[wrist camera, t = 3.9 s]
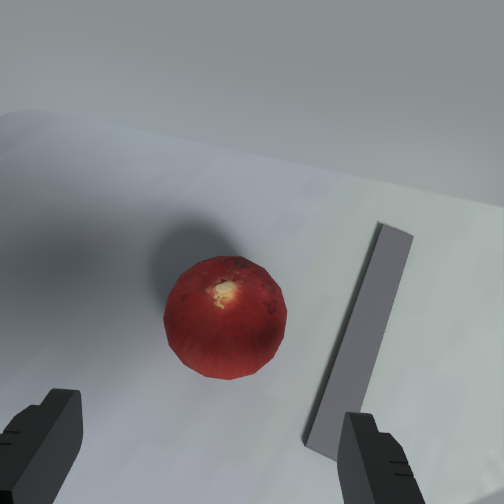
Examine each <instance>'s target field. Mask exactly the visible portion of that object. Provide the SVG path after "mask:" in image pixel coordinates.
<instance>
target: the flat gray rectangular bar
mask: <svg viewBox="0 0 504 504" xmlns="http://www.w3.org/2000/svg"><path fill="white" fill-rule="evenodd" d="M413 237H414V236H412V235H410V234H407V233H405V232H402V231H400V230H397V229H395V228H392V227H389V226H387V225H384V224H383V226H382V227H381V230H380V233H379V236H378V238H377V241H376V244H375V247H374V250H373V253H372V256H371V258H370V261H369V264H368V267H367V270H366V273H365V276H364V278H363V281H362V284H361V287H360V290H359V293H358V296H357V298H356V301H355V304H354V307H353V310H352V313H351V316H350V318H349V321H348V324H347V327H346V330H345V333H344V336H343V338H342V341H341V344H340V347H339V350H338V353H337V356H336V358H335V361H334V364H333V367H332V370H331V373H330V376H329V378H328V381H327V384H326V387H325V390H324V393H323V396H322V398H321V401H320V404H319V407H318V410H317V413H316V416H315V418H314V421H313V424H312V427H311V430H310V433H309V436H308V438H307V441H306V444H305V447H307V448H309V449H311V450H313V451H315V452H317V453H320V454H322V455H324V456H326V457H328V458H330V459H332V460H334V461H336V462H337V454H338V447H339V442H340V436H341V431H342V426H343V420H344V416H345V413H346V412H357V413H360V410H361V407H362V403H363V400H364V397H365V394H366V390H367V387H368V384H369V381H370V377H371V374H372V371H373V368H374V364H375V361H376V358H377V355H378V351H379V348H380V345H381V342H382V338H383V335H384V332H385V329H386V325H387V322H388V319H389V316H390V312H391V309H392V306H393V303H394V299H395V296H396V293H397V290H398V286H399V283H400V280H401V277H402V273H403V270H404V267H405V263H406V260H407V257H408V254H409V250H410V247H411V244H412V241H413Z"/></svg>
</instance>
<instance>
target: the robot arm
mask: <svg viewBox="0 0 504 504" xmlns="http://www.w3.org/2000/svg"><path fill="white" fill-rule="evenodd" d="M82 439H83V419H82V403H81V393H80V391H79V390H69V389H56V388H53V389H52V390H50V392H49V393H48V394H47V396H46V397H45V399H44V400H43V401H42V403H41V404H40V405H30V406H28V407H27V408H26V409H24V410H23V411H21V412H20V413H18V414H17V415H16V416H14V417H13V419H12V420H11V421H10V423H9V424H8V425H7V426H6V428H5V429H4V430H3V433H1V434H0V504H53V502H54V500H55V498H56V496H57V494H58V492H59V490H60V488H61V486H62V484H63V482H64V480H65V478H66V476H67V475H68V473H69V471H70V469H71V467H72V465H73V463H74V461H75V459H76V457H77V455H78V453H79V450H80V447H81V444H82ZM337 469H338V476H339V481H340V485H341V490H342V495H343V499H344V504H425V501H424V499H423V496H422V494H421V492H420V489H419V487H418V484H417V482H416V480H415V478H414V475H413V472H412V470H411V467H410V465H408V460H407V458H406V455H405V453H404V451H403V448H402V446H401V445H400V444H399V443H398V442H397V441H396V440H395V439H394V438H393V436H392V435H391V434H390V433H382V432H379V431H378V429H377V426H376V423H375V420H374V418H373V415H372V414H370V413H357V412H346V413H345V416H344V420H343V426H342V431H341V436H340V442H339V447H338V454H337Z"/></svg>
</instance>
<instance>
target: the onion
mask: <svg viewBox="0 0 504 504" xmlns="http://www.w3.org/2000/svg"><path fill="white" fill-rule="evenodd" d="M286 319H287V309H286V305H285V302H284V298H283V295H282V291H281V288H280V287H279V286H278V285H277V283H276V282H275V281H274V280H273V278H272V277H271V276H270V275H269V273H268V272H267V271H266V270H265V269H264V268H263V267H261V266H259V265H257V264H255V263H253V262H251V261H249V260H247V259H245V258H244V257H237V256H217V257H214V258H211V259H208V260H205V261H202V262H198V263H196V264H195V265H194V266H192V267H191V268H190V269H188V270H187V271H186V272H185V273H183V274H182V275H181V276H180V277H179V279H178V281H177V282H176V284H175V286H174V288H173V289H172V291H171V293H170V294H169V296H168V300H167V304H166V309H165V313H164V317H163V320H164V326H165V330H166V334H167V339H168V343H169V346H170V347H171V349H172V350H173V351H174V352H175V354H176V355H177V356H178V358H179V359H180V360H181V361H182V363H183V364H184V365H186V366H187V367H189V368H191V369H193V370H194V371H196V372H198V373H200V374H201V375H203V376H205V377H211V378H218V379H225V380H232V379H236V378H240V377H243V376H247V375H251V374H254V373H256V372H257V371H258V370H259V369H260V368H262V367H263V366H264V365H265V364H266V363H268V362H269V361H270V360H271V359H272V358H273V357H274V355H275V353H276V351H277V349H278V347H279V346H280V344H281V342H282V340H283V338H284V332H285V325H286Z"/></svg>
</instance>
